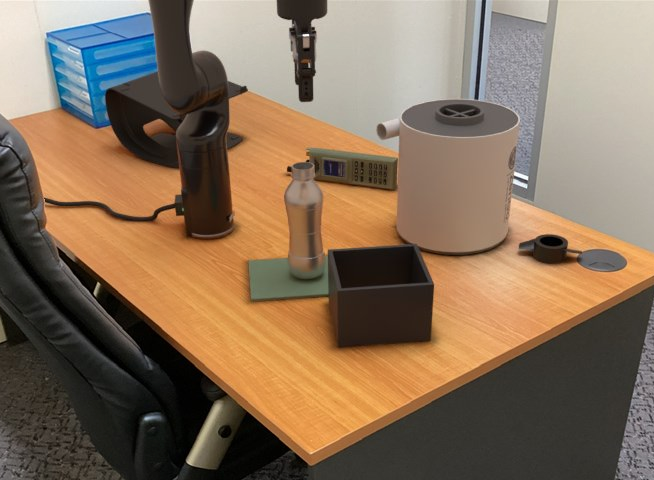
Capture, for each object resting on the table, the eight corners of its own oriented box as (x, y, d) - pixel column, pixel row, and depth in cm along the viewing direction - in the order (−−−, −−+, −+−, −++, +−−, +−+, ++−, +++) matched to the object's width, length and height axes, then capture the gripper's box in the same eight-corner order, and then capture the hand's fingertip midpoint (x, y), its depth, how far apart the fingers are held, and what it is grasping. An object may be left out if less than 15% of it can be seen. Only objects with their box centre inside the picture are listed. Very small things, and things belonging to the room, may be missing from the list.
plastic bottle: (322, 285, 145) (319, 174, 134) (283, 282, 146) (278, 172, 135) (329, 267, 150) (327, 159, 139) (291, 264, 151) (287, 157, 140)
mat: (251, 301, 142) (250, 299, 142) (248, 262, 154) (248, 260, 153) (369, 293, 143) (369, 291, 143) (358, 255, 155) (358, 253, 154)
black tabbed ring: (540, 240, 158) (542, 226, 156) (585, 258, 151) (588, 244, 150) (513, 253, 154) (515, 238, 152) (558, 272, 147) (561, 257, 146)
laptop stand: (183, 121, 219) (176, 60, 211) (254, 138, 207) (249, 74, 199) (109, 152, 202) (99, 87, 194) (182, 172, 190) (174, 103, 182)
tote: (338, 347, 130) (337, 290, 124) (328, 303, 141) (327, 249, 135) (430, 340, 131) (434, 284, 125) (414, 297, 142) (416, 243, 136)
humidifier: (445, 268, 150) (454, 140, 137) (371, 228, 164) (373, 108, 151) (530, 235, 160) (546, 112, 147) (454, 199, 174) (462, 85, 161)
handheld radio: (393, 191, 178) (284, 177, 186) (397, 186, 181) (290, 172, 189) (394, 161, 175) (283, 147, 183) (399, 156, 177) (289, 143, 186)
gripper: (273, -27, 129) (277, 80, 139) (278, -8, 118) (282, 108, 127) (322, -29, 130) (323, 78, 139) (332, -10, 118) (332, 106, 127)
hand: (303, 92), depth 133 cm, fingers open, 8 cm apart
